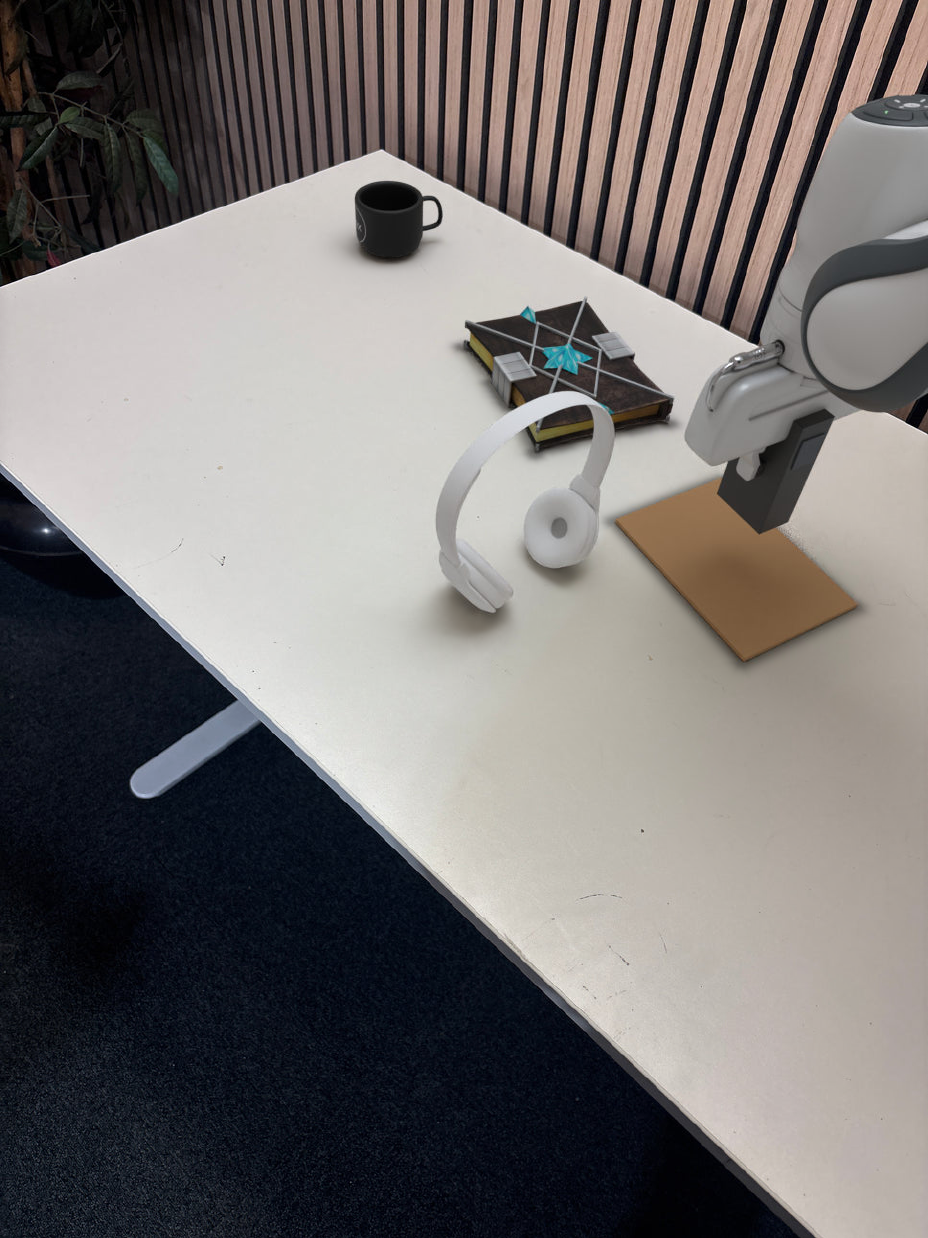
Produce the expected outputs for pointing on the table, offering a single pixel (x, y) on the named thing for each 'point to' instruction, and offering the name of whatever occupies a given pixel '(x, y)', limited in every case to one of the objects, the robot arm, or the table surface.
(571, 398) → the headphones
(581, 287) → the table surface
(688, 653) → the table surface
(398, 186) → the mug
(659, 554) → the mat
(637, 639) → the table surface
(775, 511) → the device
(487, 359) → the book
